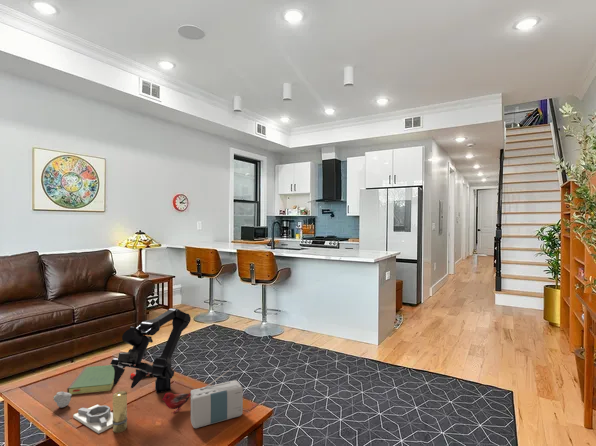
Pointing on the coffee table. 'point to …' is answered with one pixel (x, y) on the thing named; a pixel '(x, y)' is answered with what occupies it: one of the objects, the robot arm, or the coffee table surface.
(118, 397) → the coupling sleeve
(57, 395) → the grey rounded lump
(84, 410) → the coupling stand
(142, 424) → the coffee table surface
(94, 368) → the hardcover book
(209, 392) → the stereo radio cassette player
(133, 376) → the race car
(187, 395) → the decorative bird figurine
